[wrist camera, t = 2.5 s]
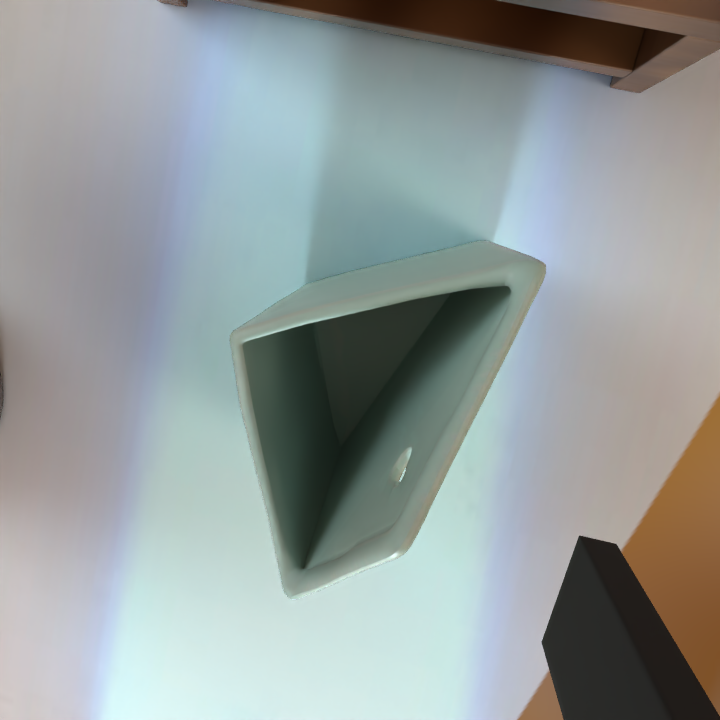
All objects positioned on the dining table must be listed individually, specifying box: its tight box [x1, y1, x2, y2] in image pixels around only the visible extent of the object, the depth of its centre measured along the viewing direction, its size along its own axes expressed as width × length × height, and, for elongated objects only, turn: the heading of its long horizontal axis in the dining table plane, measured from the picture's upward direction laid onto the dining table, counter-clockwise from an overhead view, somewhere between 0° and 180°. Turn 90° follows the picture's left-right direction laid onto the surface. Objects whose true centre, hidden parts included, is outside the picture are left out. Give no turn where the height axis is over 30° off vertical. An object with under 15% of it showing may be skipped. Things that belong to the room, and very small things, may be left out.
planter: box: [230, 240, 546, 600], centre depth 23 cm, size 16×8×20 cm, turn 147°
